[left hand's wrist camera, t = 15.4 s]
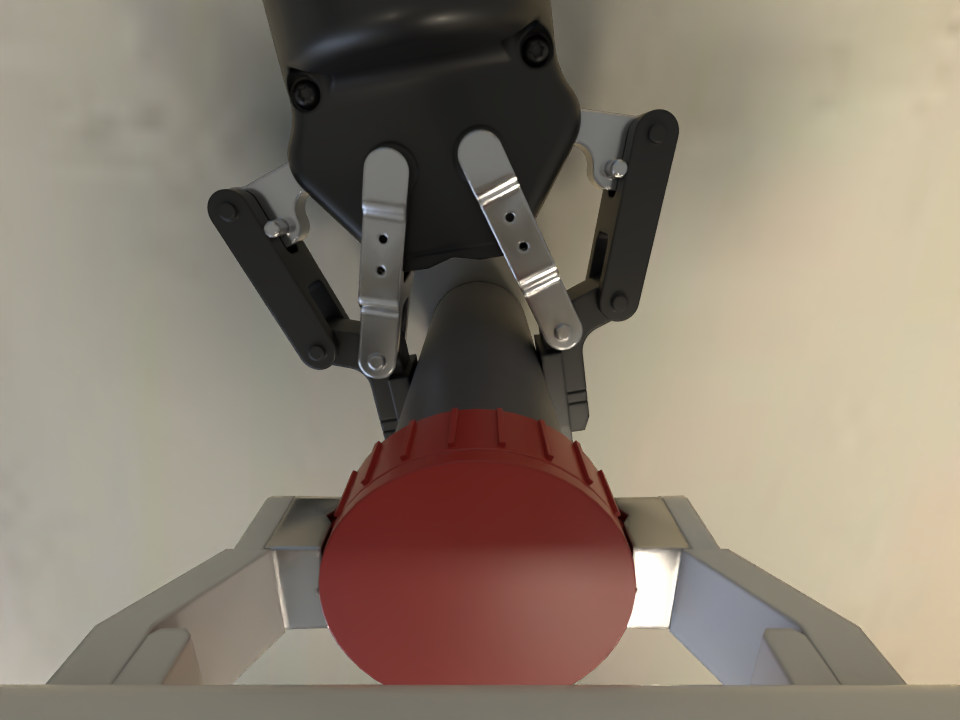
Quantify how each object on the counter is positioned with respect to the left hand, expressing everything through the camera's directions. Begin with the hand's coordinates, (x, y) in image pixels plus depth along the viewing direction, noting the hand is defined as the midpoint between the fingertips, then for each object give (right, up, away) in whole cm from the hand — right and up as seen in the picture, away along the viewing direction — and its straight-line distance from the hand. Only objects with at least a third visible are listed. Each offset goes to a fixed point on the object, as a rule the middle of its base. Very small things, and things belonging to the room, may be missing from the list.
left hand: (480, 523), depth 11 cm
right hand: (0, 0, +8) cm, 8 cm away
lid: (0, -1, -2) cm, 2 cm away
